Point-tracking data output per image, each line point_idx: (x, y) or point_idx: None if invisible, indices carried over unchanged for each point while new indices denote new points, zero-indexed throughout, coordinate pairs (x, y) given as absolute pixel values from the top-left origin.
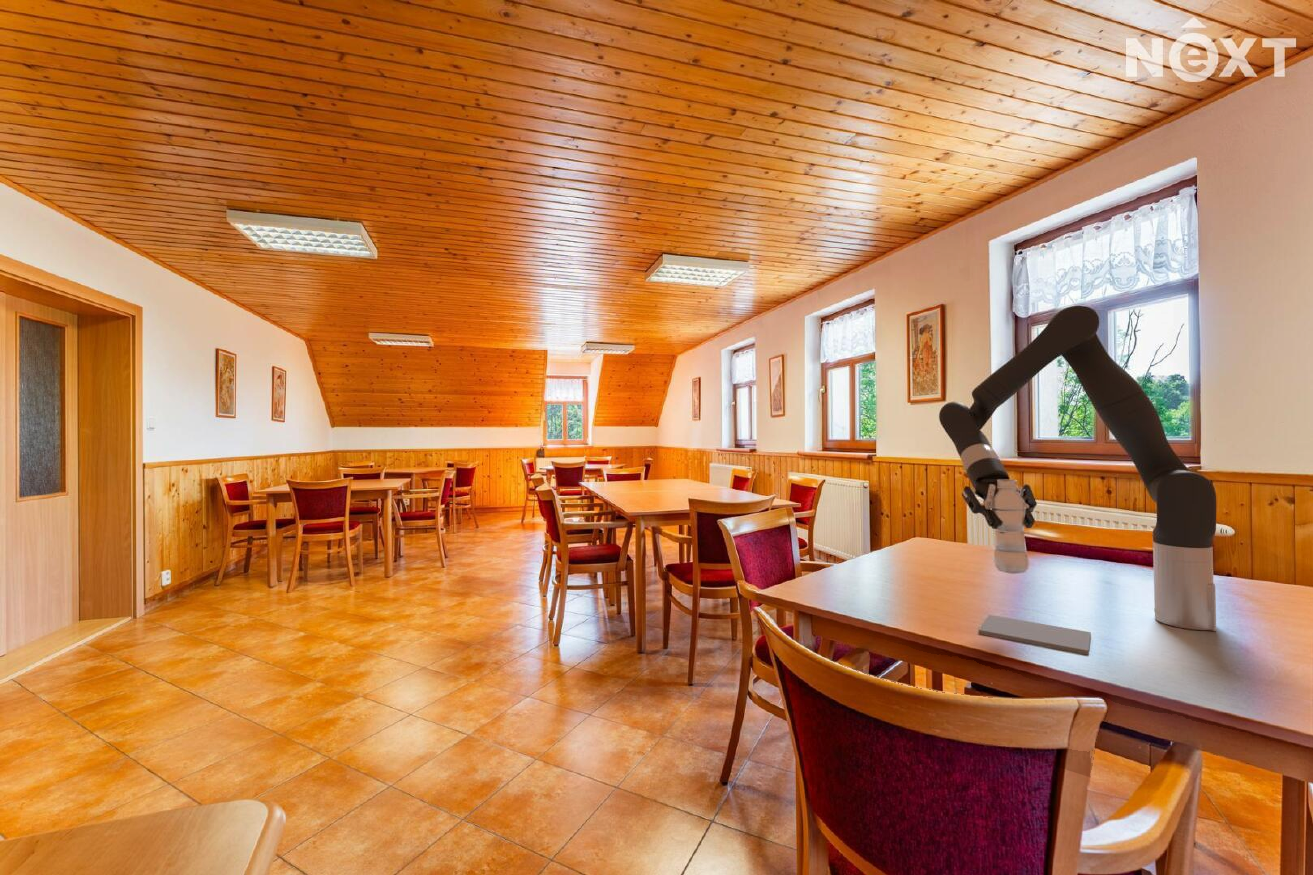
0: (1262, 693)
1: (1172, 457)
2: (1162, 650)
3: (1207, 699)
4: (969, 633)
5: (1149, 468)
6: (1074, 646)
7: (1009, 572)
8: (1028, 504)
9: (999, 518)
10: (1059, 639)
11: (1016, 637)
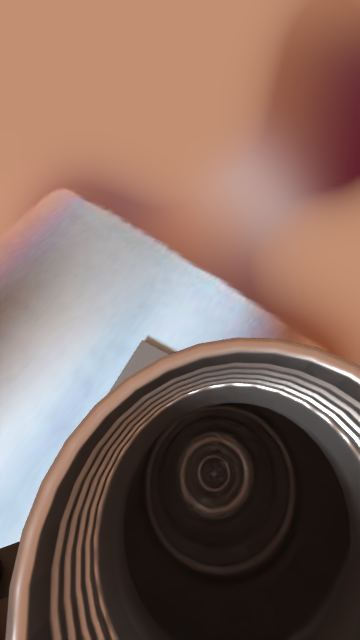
0: (15, 255)
1: None
2: (11, 383)
3: (90, 228)
4: None
5: None
6: (153, 356)
7: (235, 431)
8: (7, 583)
9: (300, 428)
10: None
11: None
